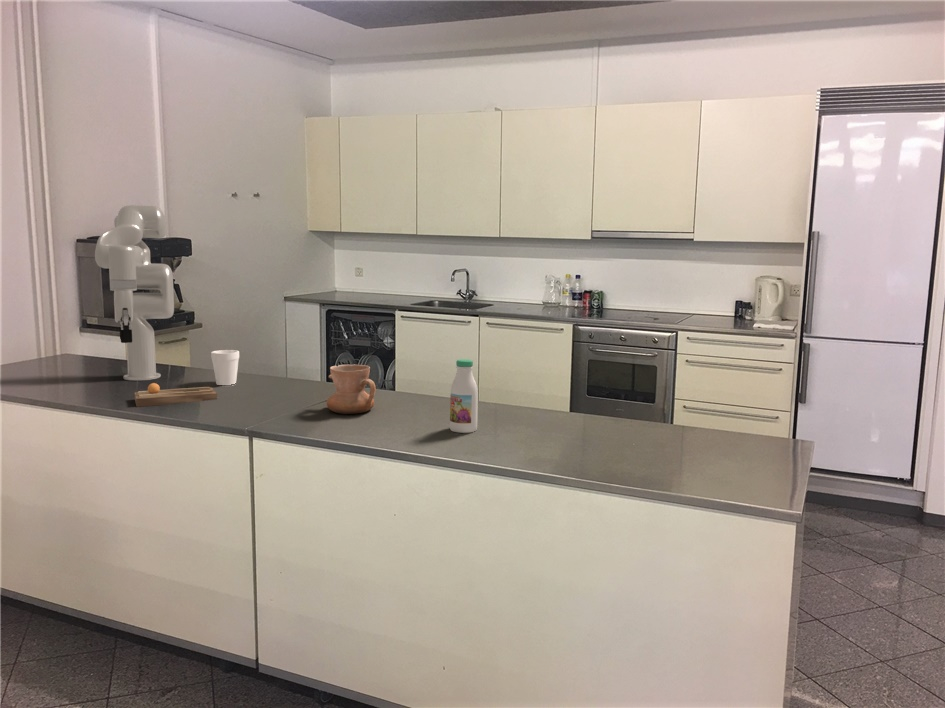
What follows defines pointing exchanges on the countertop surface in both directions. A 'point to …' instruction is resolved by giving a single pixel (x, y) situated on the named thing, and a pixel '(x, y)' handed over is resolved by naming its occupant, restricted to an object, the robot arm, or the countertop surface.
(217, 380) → the foam cup
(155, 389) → the ball
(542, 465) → the countertop surface
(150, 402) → the runway
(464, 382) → the milk bottle
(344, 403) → the ceramic jug
